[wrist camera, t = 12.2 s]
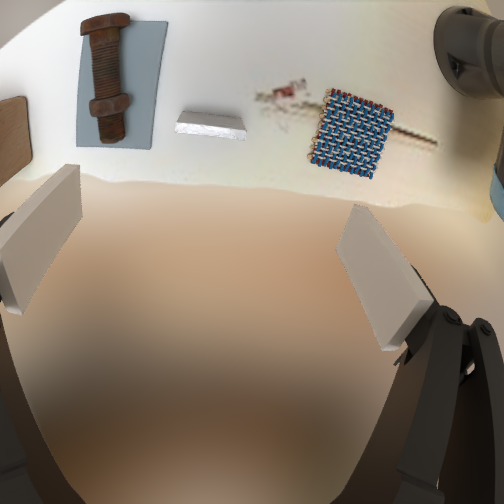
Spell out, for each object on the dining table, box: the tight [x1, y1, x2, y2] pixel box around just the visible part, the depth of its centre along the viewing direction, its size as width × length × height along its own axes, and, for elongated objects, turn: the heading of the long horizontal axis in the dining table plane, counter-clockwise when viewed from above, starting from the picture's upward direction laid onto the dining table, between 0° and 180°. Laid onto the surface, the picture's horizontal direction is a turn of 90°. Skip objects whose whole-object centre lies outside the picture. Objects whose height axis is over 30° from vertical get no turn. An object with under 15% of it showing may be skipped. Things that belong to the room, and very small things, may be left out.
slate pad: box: [76, 21, 168, 150], centre depth 29 cm, size 10×16×1 cm, turn 169°
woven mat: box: [307, 89, 395, 179], centre depth 36 cm, size 10×11×2 cm
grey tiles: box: [175, 111, 247, 140], centre depth 26 cm, size 7×19×7 cm, turn 169°
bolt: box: [80, 13, 130, 144], centre depth 26 cm, size 6×5×15 cm
